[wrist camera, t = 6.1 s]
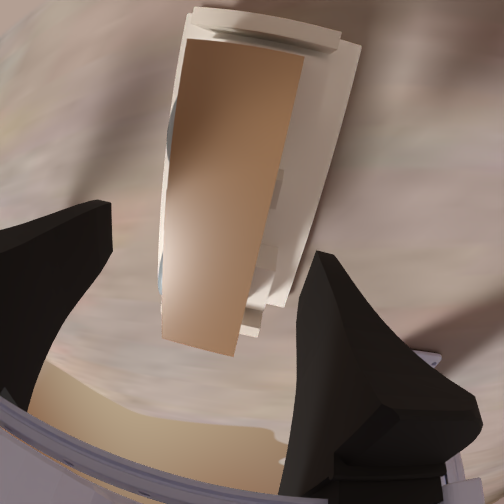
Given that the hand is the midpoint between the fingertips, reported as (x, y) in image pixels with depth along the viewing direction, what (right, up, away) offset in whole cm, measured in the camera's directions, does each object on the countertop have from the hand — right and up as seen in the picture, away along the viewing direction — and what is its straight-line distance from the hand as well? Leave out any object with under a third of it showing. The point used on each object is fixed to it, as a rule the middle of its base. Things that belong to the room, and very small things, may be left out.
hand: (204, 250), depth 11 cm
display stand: (+1, +5, +8) cm, 9 cm away
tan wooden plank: (+1, +3, +5) cm, 6 cm away
